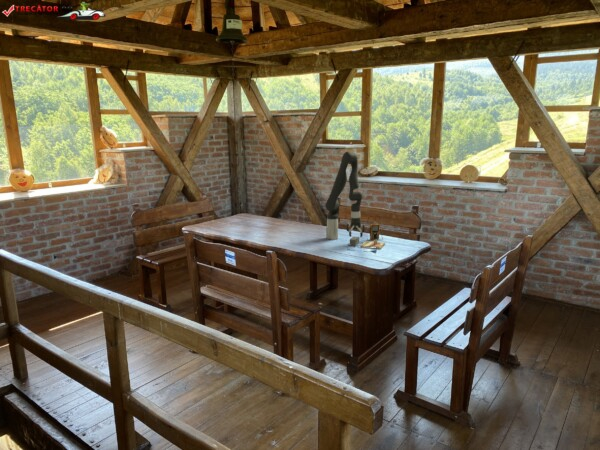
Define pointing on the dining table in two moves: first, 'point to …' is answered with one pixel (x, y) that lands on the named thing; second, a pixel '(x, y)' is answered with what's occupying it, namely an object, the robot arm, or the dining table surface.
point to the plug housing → (354, 241)
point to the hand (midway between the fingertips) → (355, 236)
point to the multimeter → (374, 230)
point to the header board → (373, 244)
